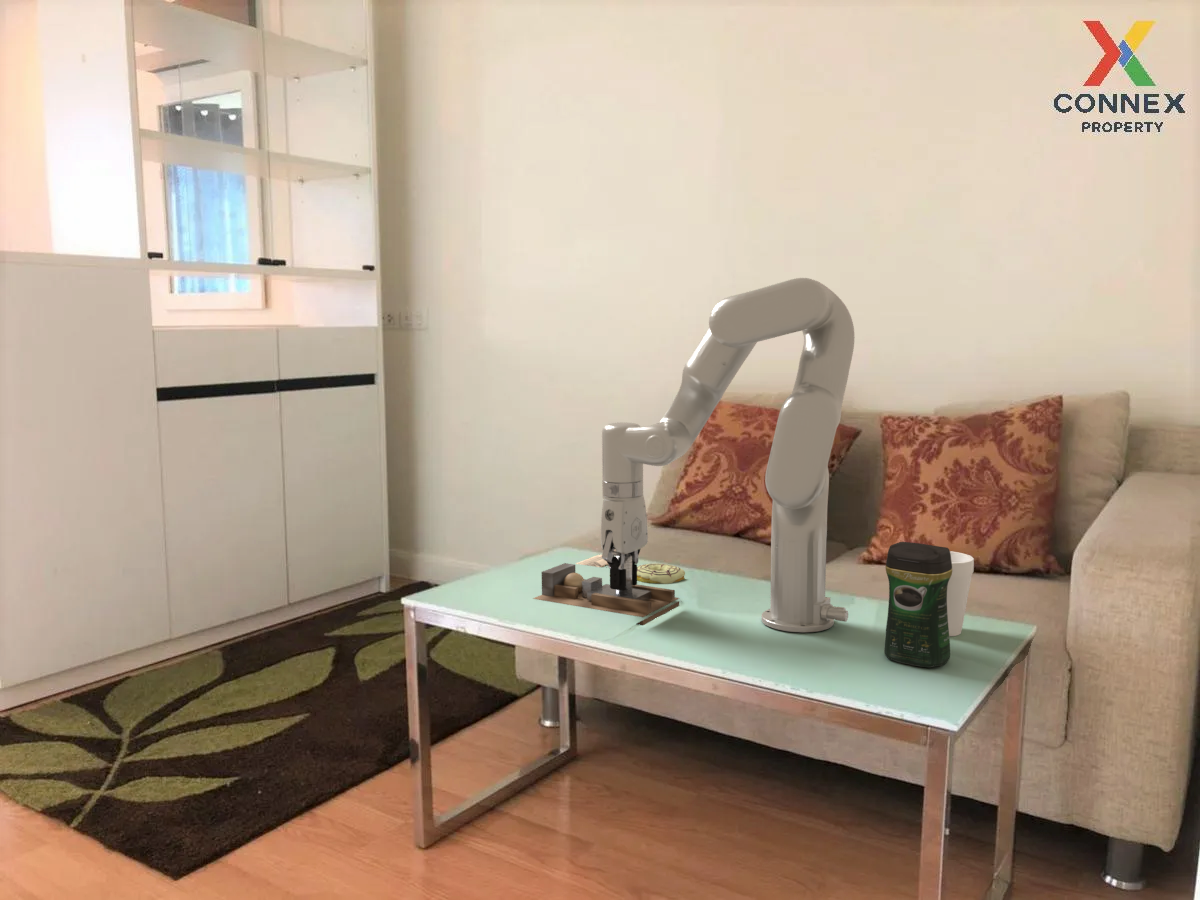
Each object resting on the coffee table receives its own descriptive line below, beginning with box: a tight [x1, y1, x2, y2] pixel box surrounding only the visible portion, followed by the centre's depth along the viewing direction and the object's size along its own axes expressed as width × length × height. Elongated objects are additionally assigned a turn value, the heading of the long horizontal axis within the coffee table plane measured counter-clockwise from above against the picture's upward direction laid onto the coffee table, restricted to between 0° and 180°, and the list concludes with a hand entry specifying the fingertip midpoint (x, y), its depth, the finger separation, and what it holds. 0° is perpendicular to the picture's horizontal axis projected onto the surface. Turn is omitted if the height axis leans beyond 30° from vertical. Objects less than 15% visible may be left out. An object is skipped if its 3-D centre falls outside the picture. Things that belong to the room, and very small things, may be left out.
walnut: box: [564, 572, 585, 593], centre depth 189 cm, size 4×4×4 cm
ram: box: [582, 554, 651, 601], centre depth 183 cm, size 12×7×8 cm, turn 58°
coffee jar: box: [883, 541, 952, 668], centre depth 153 cm, size 10×8×19 cm
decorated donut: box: [637, 562, 686, 585], centre depth 200 cm, size 10×11×4 cm
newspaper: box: [575, 554, 608, 568], centre depth 213 cm, size 24×7×2 cm, turn 148°
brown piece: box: [532, 562, 680, 626], centre depth 185 cm, size 24×14×6 cm, turn 58°
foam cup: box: [947, 550, 975, 637], centre depth 167 cm, size 10×9×13 cm
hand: (623, 585), depth 183 cm, fingers closed on ram, 3 cm apart
